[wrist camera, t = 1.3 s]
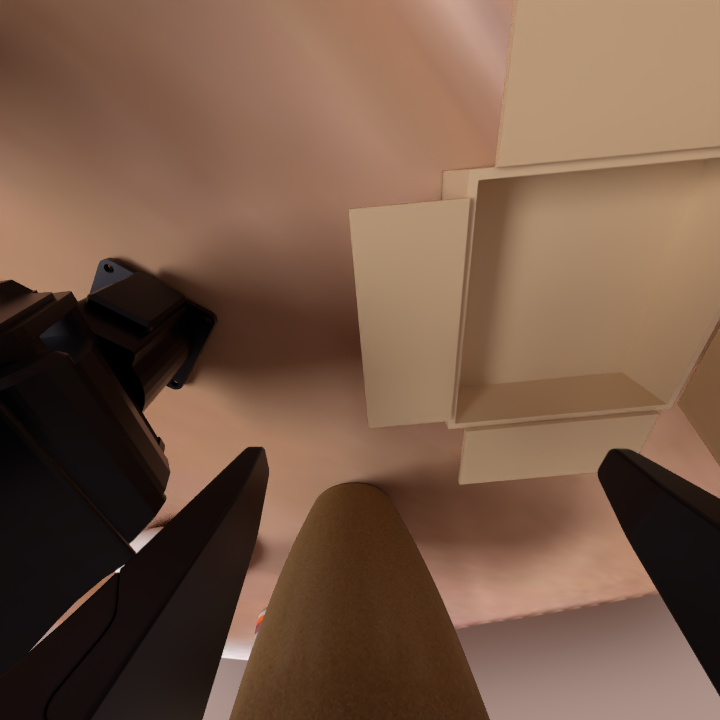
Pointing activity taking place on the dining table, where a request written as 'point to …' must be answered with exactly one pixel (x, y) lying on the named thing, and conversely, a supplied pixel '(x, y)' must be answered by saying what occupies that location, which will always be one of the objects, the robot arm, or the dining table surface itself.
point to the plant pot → (356, 625)
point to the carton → (558, 247)
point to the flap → (705, 398)
